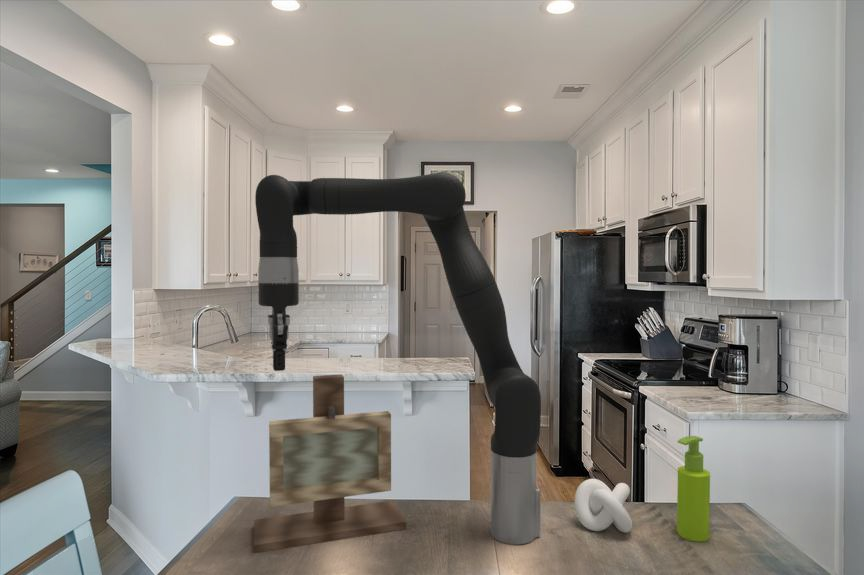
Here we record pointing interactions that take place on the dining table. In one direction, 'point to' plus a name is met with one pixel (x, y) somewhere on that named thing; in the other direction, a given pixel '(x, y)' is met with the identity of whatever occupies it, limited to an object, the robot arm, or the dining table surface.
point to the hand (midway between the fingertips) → (279, 369)
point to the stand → (330, 513)
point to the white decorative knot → (602, 506)
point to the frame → (329, 457)
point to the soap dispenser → (693, 494)
